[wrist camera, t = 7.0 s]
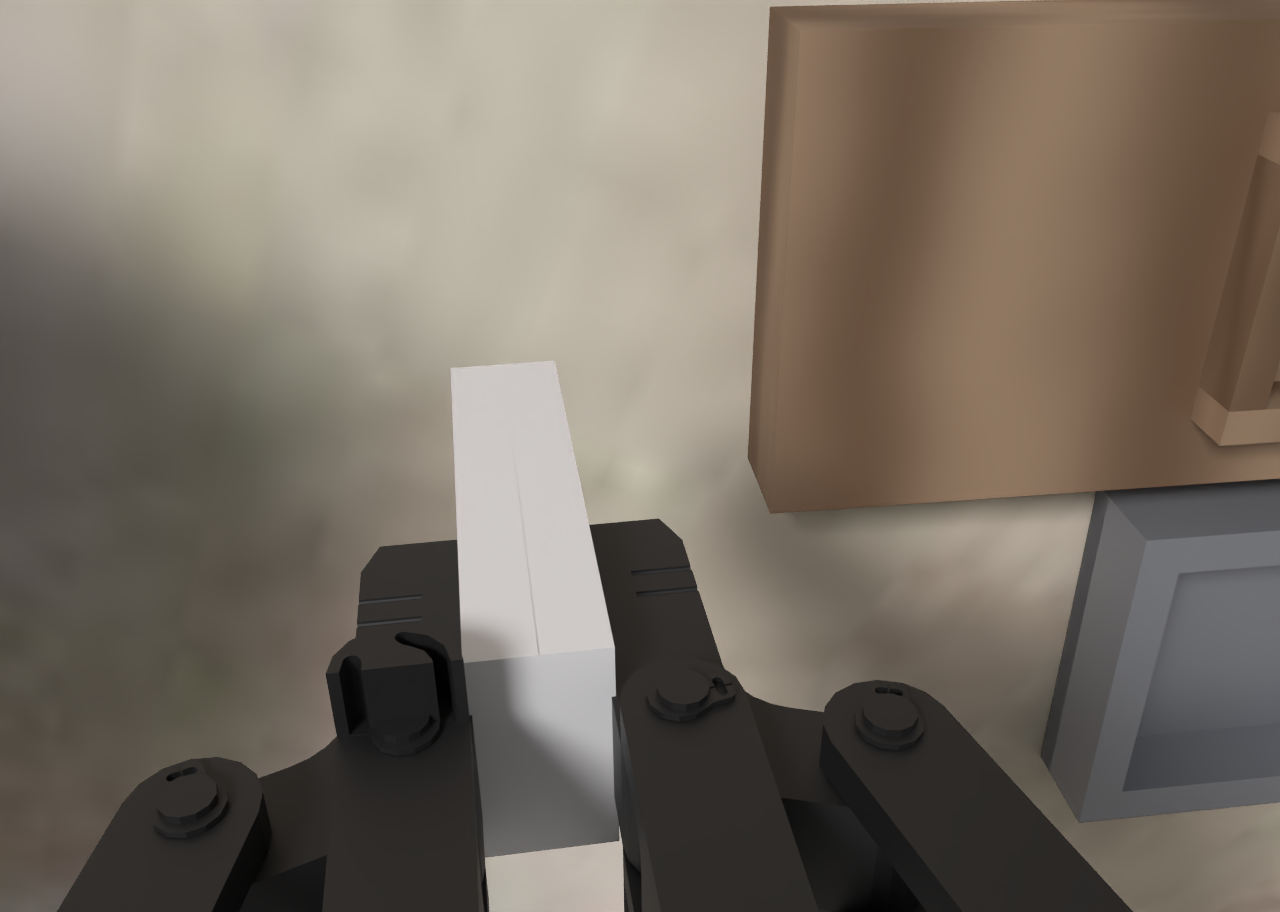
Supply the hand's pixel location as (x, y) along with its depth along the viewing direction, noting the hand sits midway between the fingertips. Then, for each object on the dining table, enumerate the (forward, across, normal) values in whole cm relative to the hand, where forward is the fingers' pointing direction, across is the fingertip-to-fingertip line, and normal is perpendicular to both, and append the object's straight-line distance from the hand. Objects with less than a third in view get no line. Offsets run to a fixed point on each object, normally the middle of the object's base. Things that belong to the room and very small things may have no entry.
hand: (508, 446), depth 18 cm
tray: (+8, +19, -11) cm, 23 cm away
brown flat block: (+8, +14, 0) cm, 16 cm away
